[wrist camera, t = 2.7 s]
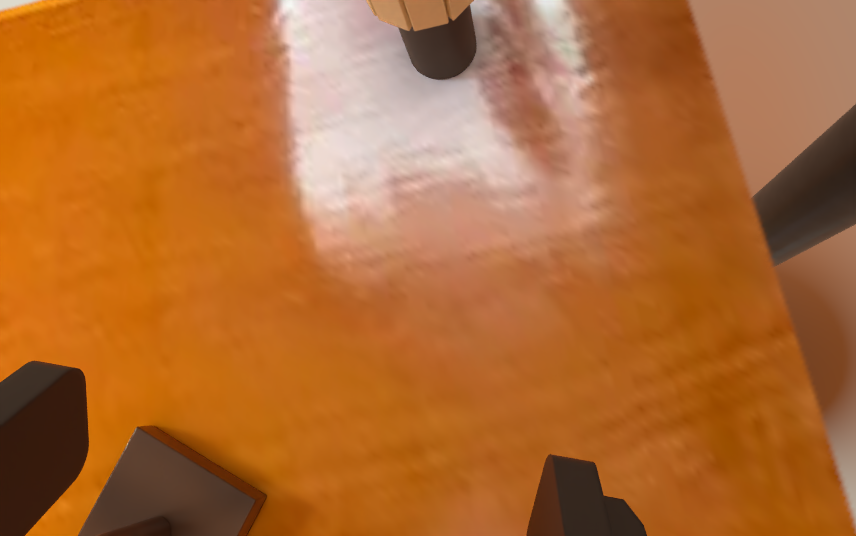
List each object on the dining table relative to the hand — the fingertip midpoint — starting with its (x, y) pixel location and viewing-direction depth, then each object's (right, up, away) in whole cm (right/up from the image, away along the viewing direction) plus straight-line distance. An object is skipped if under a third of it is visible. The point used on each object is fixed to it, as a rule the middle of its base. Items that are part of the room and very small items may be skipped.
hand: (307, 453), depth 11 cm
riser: (+3, +16, +27) cm, 31 cm away
